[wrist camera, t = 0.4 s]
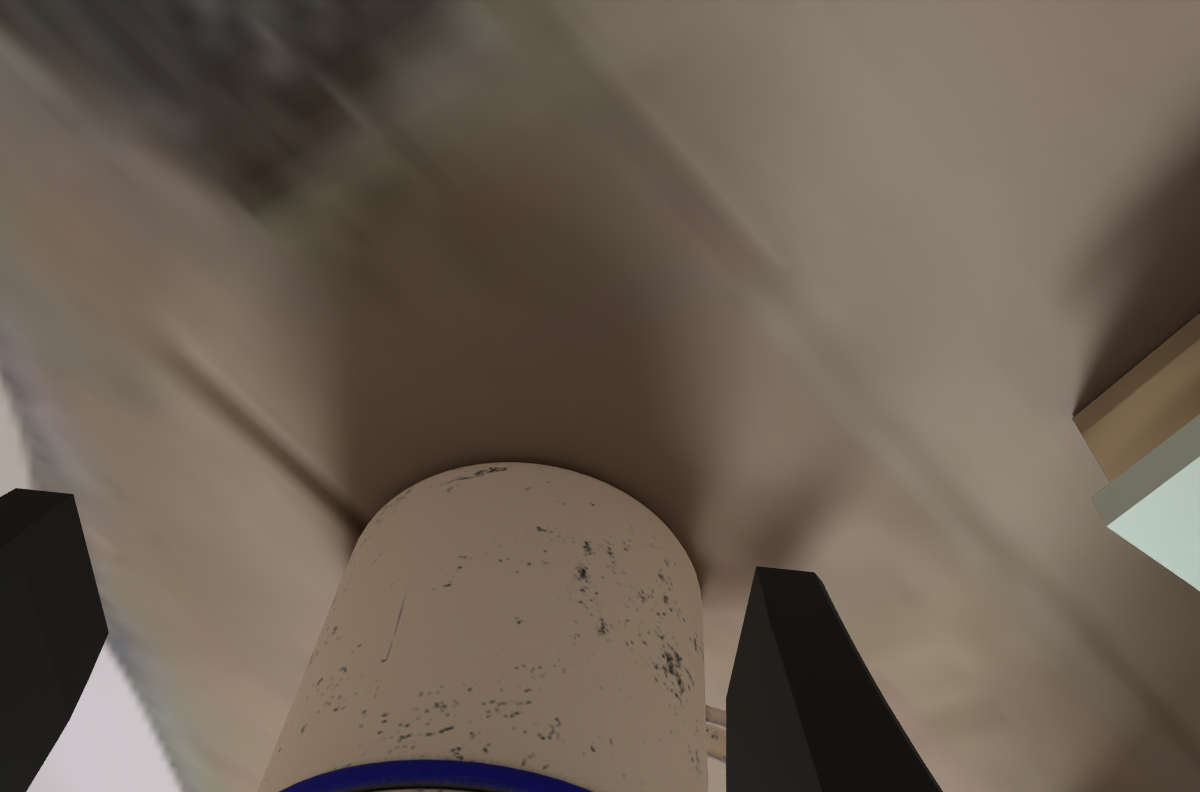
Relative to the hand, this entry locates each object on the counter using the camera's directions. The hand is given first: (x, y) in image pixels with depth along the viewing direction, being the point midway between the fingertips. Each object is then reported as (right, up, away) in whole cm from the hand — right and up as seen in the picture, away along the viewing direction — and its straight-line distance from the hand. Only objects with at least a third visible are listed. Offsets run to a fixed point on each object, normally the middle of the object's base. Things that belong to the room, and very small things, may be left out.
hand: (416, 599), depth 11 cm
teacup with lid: (+2, -3, +14) cm, 15 cm away
